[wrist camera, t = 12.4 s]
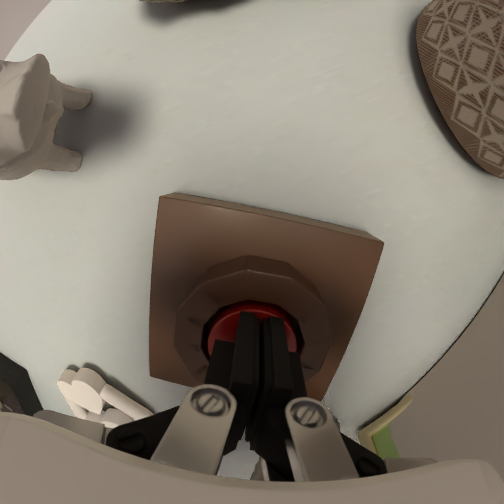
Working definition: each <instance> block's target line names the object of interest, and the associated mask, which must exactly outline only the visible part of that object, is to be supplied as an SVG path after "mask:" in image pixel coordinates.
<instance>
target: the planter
mask: <svg viewBox="0 0 504 504" xmlns="http://www.w3.org/2000/svg"><path fill="white" fill-rule="evenodd" d="M416 40H417V48H418V53H419V58H420V62H421V65H422V69H423V72H424V75H425V78H426V80H427V83H428V86H429V88H430V91H431V93H432V95H433V97H434V100H435V102H436V104H437V106H438V108H439V110H440V112H441V114H442V115H443V117H444V119H445V121H446V123H447V124H448V126H449V128H450V129H451V131H452V132H453V134H454V135H455V137H456V138H457V140H458V141H459V143H460V144H461V145H462V147H463V148H464V149H465V150H466V152H467V153H468V154H469V155H470V156H471V157H472V158H473V160H474V161H475V162H476V163H478V164H479V165H480V166H481V167H482V168H483V169H485V170H486V171H488V172H489V173H491V174H492V175H494V176H497V177H499V178H503V179H504V0H433V1H432V2H430V3H429V4H428V5H427V6H426V7H425V8H424V9H423V10H422V12H421V14H420V16H419V18H418V22H417V28H416Z"/></svg>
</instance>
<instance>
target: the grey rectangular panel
mask: <svg viewBox="0 0 504 504" xmlns="http://www.w3.org/2000/svg"><path fill="white" fill-rule="evenodd" d="M409 395H411V397H412V398H413V400H412V402H411V403H410V404H409V405H408V406H407V408H406V409H404V410H403V411H402V412H401V413H400V414H399V415H398V416H397V417H395V418H394V419H393V420H392V421H391V422H390V423H389V430H390V437H391V439H392V441H393V443H394V445H395V447H396V449H397V451H398V453H399V455H400V457H401V458H432V459H434V460H436V461H437V462H442V461H448V460H457V459H476V460H481V461H485V462H487V463H489V464H490V465H492V466H493V468H494V469H495V470H496V471H497V473H498V474H499V476H500V477H501V479H502V481H503V482H504V274H503V276H502V278H501V279H500V281H499V283H498V284H497V286H496V288H495V289H494V291H493V292H492V294H491V295H490V297H489V298H488V300H487V301H486V303H485V304H484V306H483V307H482V309H481V310H480V311H479V313H478V314H477V316H476V317H475V318H474V320H473V321H472V322H471V324H470V325H469V326H468V328H467V329H466V330H465V331H464V333H463V334H462V335H461V336H460V338H459V339H458V340H457V341H456V343H455V344H454V345H453V346H452V347H451V348H450V350H449V351H448V352H447V353H446V354H445V355H444V356H443V358H442V359H441V360H440V361H439V362H438V363H437V364H436V365H435V366H434V367H433V368H432V369H431V370H430V371H429V372H428V373H427V374H426V375H425V376H424V377H423V378H422V379H421V380H420V381H419V382H418V383H417V384H416V385H415V386H414V387H413V388H412V389H411V390H410V391H409V392H408V393H407V394H406V395H405V396H404V397H403V398H402V400H403V399H404V398H406V397H407V396H409ZM402 400H401V401H402ZM401 401H400V402H401ZM400 402H399V403H400Z"/></svg>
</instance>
